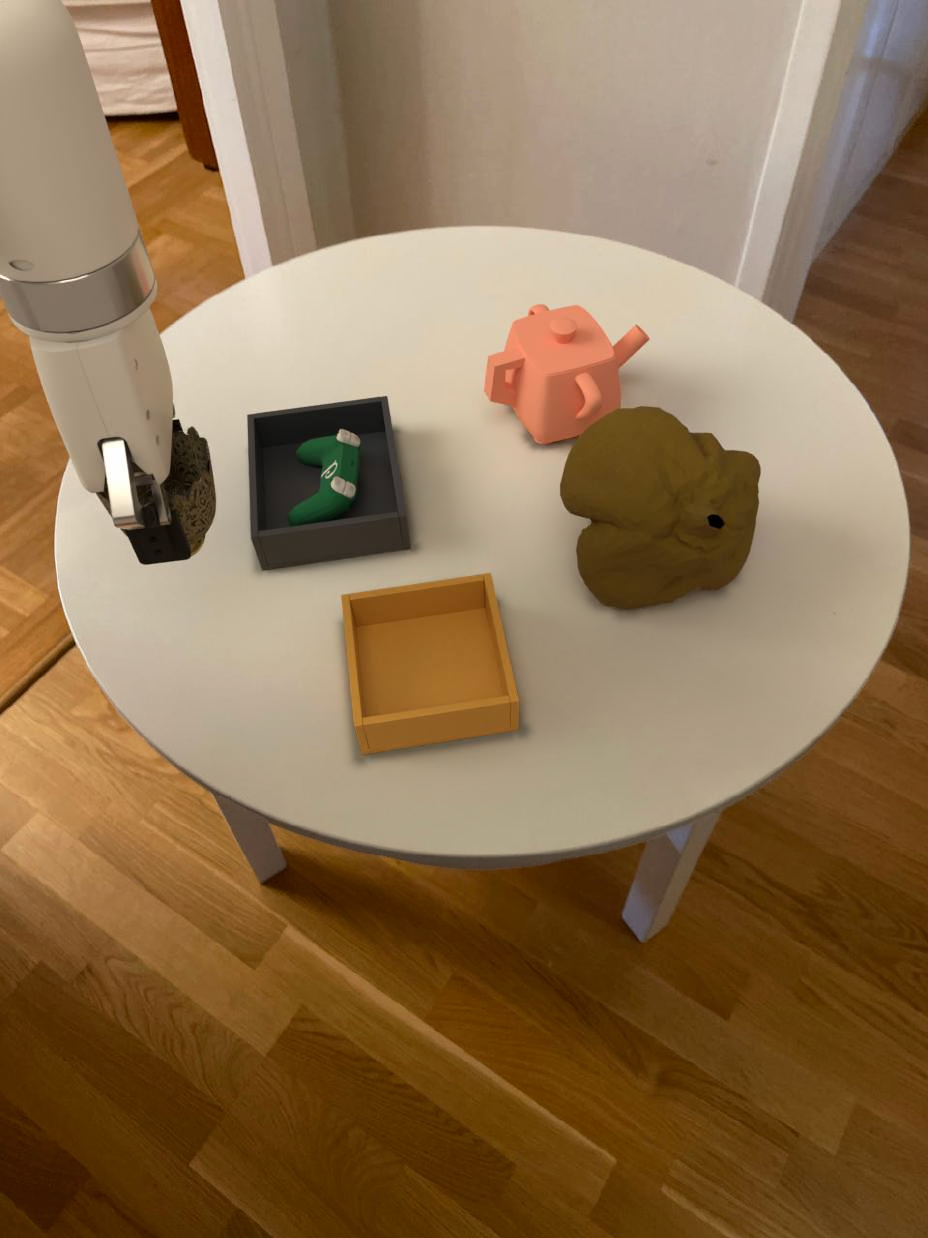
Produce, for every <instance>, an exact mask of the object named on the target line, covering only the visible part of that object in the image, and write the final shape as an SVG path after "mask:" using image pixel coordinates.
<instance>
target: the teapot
mask: <svg viewBox="0 0 928 1238" xmlns="http://www.w3.org/2000/svg"><path fill="white" fill-rule="evenodd" d="M650 340H651V338H650V337H649V335H648V334H647V333H646V331H645V330H643V329H642V328H641V327H640V325H638V324H635V325H633V326H632V327H631V329H629V330H628V331H627V332H626V333H625V334H624V335H623V336H622V337H621V338H620V339H619V340H617V342H616V343H614V344H613V345H612V343H611V341H610V339H609V337H608V336H607V334H606V333H605V330H604V329H603V328H602V327H601V325H600V324H599V323H598V321H597V320H596V319H595V318H594V317H593V315H592V314H591V313H590V312H589V311H588V310H586V308H584V307H582V306H581V305H578V304H574V305H567V306H563V307H559V308H554V309H550V308H549V307H548V306H547V305H546V304H544V303H543V304H541V303H538V304H535V305H532V306H531V307H530V308H529V310H528V312H527V316H524V317H521V318H518V319H515V320H513V322H512V324H511V326H510V329H509V332H508V336H507V339H506V342H505V346H504V350H503V351H500V352H497V353H493V354H490V355H488V356H487V362H486V370H485V378H484V388H483V392H484V393H485V396H486V397H487V399H488V400H489V402H491V403H496V404H500V405H504V406H510V407H512V410H513V411H514V413H515V415H516V417H517V418H518V420H519V421H520V422H521V424H522V425H523V426H524V428H525V429H526V430H527V432H528V433H529V434H530V435H531V436H532V437H533V441H535V443H537V444H539V445H549V444H552V443H554V442H559V441H563V440H567V439H571V438H575V437H579V436H580V435H581V434H582V433H583V432H584V431H585V430H586V429H587V428H588V427H589V426H590V425H592V424H593V423H595V422H596V421H598V420H599V419H601V418H602V417H604V416H605V415H607V414H608V413H610V412H612V411H614V410H616V409H618V408H621V405H622V404H621V403H622V401H621V400H622V399H621V398H622V388H621V379H620V371H619V370H620V369H621V368H622V367H623V366H624V365H625V364H626V363H627V362H628V361H629V360H630V359H631V358H632V357H633V356H634V355H635V354H637V352H638V351H639V350H640V349H642V348H643V347H644V346H645V345H646V344H647V343H648V342H649V341H650Z"/></svg>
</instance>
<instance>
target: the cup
mask: <svg viewBox="0 0 928 1238" xmlns="http://www.w3.org/2000/svg"><path fill="white" fill-rule="evenodd" d="M133 469H134V472H142V471H143V470H142V469H141V468H140V467H139V466H138V465H137V464H136V463H135V462H133ZM213 471H214V470H213V466H212V460H211V451H210V446H209V443H208V440H207V438H205V437H204V436H203V437H202V436H200V434H199V432H198V430H197V429H196V428H195V427H194V426H193V425H192V426H189V427H188V428H187V429H186V433H185V431H184V430H183V431H179V432H178V431H177V432H176V431H175V430H174V429H173V428H172V445H171V463H170V472H169V475H168V476H167V478H166V479H165V481H164V486H165V491H166V495H167V500H168V504H169V508H170V510H176V511H177V514H178V516H179V519H180V522H181V524H182V527H183V530H184V532H185V535H186V537H187V540H188V543H189V545H190V548H191V557H193V556H195V555H196V554H197V553H199V551H200V550H201V549H202V548H203V546H204V543H205V541H206V540H205V539H206V534H207V533H208V532H209V530H210V528H211V526H212V525H213V522H214V519H215V516H216V512H217V494H216V485H215V478H214V472H213ZM136 490H137V496H138V500H139V503H140V504H141V505H142V507H147V506H155V502H154V498H153V494H152V490H151V485H146V486H137V487H136ZM94 494H96V496H97V498H98V499H99V501H100V503H102V505H103V507H104V508H105V511H107V513H108V515H109V516H110V517H111V518H112V513H111V506H110V499H109V492H108V485H107V478H106V474H105V483H104V491H103V492H95V493H94ZM120 530H121V532H122V533H123V534H124V536H125V537H127V538H128V536H127V534H126V532H125V531H123V530H122V529H120Z"/></svg>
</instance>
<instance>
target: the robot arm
mask: <svg viewBox="0 0 928 1238" xmlns="http://www.w3.org/2000/svg"><path fill="white" fill-rule="evenodd" d="M79 34H80V33H78V29H77V26H76V24H75V21H74V19H73V17H72V15H71V13H70V11H69V10H68V9H67V7H66V5H65V4H64V3H63V1H62V0H0V299H1V301H2V303H3V305H4V307H5V309H6V312H7V314H8V316H9V318H10V320H11V322H12V324H13V325H14V327H16V328H17V329H18V330H19V331H20V332H22V333H23V334H25V335H27V336H28V337H29V338H28V339H29V346H30V350H31V353H32V357H33V361H34V365H35V368H36V372H37V374H38V378H39V380H40V384H41V387H42V390H43V393H44V396H45V398H46V401H47V404H48V407H49V410H50V413H51V415H52V418H53V419H54V422H55V425H56V427H57V429H58V432H59V435H60V437H61V439H62V442H63V444H64V446H65V447H64V448H66V451H67V454H68V456H69V459H70V461H71V463H72V466H73V468H74V470H75V472H76V475H77V477H78V480H79V482H80V484H81V485H82V487H83V488H84V489H85V490H86V491H87V492H89V493H90V494H96V493H95V492H103V491H104V483H105V474H106V478H107V485H108V492H109V499H110V506H111V513H112V517H111V519H112V522H113V526H114V527H115V528H117V529H119V530H121V529H122V530H123V531H125V532H126V534H127V536H128V537H127V536H126V537H127V538H128V541H129V543H130V545H131V547H132V549H133V551H134V555H136V558H137V560H138V562H139V564H141V565H144V566H147V565H156V564H164V563H165V564H166V563H172V562H181V561H187V560H189V559H191V557H192V556H191V548H190V545H189V543H188V540H187V537H186V535H185V532H184V530H183V527H182V524H181V522H180V519H179V516H178V514H177V511H176V510H170V508H169V504H168V500H167V495H166V491H165V486H164V481H165V479H166V478H167V476H168V475H169V472H170V463H171V445H172V428H173V429H174V430H175V431H176V432H177V431H178V432H179V431H183V432H184V430H183V426H182V423H181V421H180V418H176V407H175V404H174V384H173V377H172V373H171V372H172V371H171V367H170V365H169V361H168V357H167V354H166V350H165V346H164V343H163V341H162V338H161V335H160V332H159V329H158V326H157V324H156V321H155V318H154V315H153V311H152V310H151V308H150V307H151V306H152V305H153V304H154V302H155V300H156V298H157V294H158V287H159V285H158V281H157V278H156V275H155V271H154V268H153V265H152V261H151V259H150V255H149V252H148V249H147V246H146V242H145V239H144V237H143V233H142V230H141V227H140V223H139V221H138V218H137V216H136V215H137V214H136V211H135V208H134V205H133V201H132V198H131V195H130V191H129V189H128V186H127V183H126V180H125V176H124V173H123V170H122V167H121V163H120V160H119V157H118V155H117V151H116V148H115V144H114V141H113V139H112V134H111V131H110V129H109V125H108V122H107V119H106V117H105V113H104V109H103V107H102V103H101V101H100V97H99V93H98V91H97V88H96V87H97V86H96V84H95V81H94V77H93V75H92V72H91V69H90V65H89V62H88V58H87V56H86V53H85V49H84V46H83V43H82V41H81V37H80V35H79ZM133 462H135V463H136V464H137V465H138V466H139V467H140V468H141V469H142V470H143V471H142V472H134V469H133ZM146 485H151V490H152V494H153V498H154V502H155V506H147V507H142V505H141V504H140V503H139V500H138V496H137V490H136V487H137V486H146Z"/></svg>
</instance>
